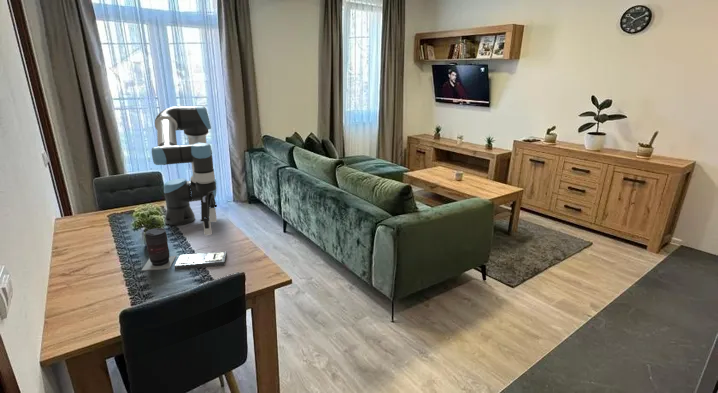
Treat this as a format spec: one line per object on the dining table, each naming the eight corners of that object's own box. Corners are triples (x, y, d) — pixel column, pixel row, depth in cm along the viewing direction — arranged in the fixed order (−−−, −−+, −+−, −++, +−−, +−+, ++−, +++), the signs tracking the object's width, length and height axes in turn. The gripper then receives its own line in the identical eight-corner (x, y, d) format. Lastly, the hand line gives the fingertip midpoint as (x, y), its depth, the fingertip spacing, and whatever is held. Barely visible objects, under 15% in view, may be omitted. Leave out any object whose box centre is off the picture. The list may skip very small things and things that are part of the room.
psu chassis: (180, 258, 167) (179, 254, 166) (227, 255, 171) (226, 250, 170) (174, 269, 158) (174, 264, 157) (224, 265, 162) (223, 260, 161)
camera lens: (162, 268, 158) (157, 236, 154) (146, 266, 160) (139, 234, 155) (175, 259, 166) (170, 228, 161) (159, 257, 167) (153, 226, 163)
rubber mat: (149, 258, 167) (149, 257, 167) (176, 256, 169) (176, 255, 169) (141, 271, 157) (141, 270, 157) (169, 268, 159) (169, 267, 159)
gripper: (201, 172, 164) (206, 217, 172) (189, 191, 141) (195, 241, 149) (219, 172, 166) (223, 216, 173) (209, 190, 143) (215, 239, 150)
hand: (211, 227), depth 161 cm, fingers open, 13 cm apart
